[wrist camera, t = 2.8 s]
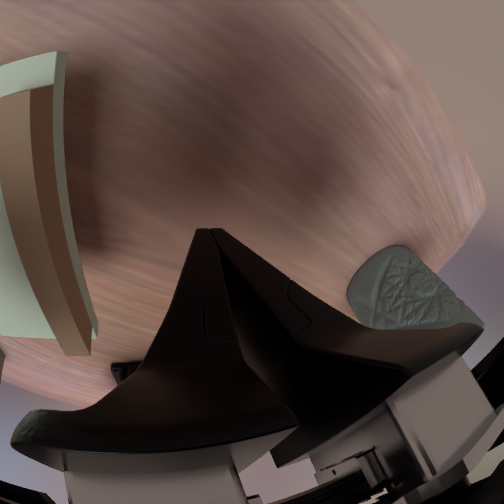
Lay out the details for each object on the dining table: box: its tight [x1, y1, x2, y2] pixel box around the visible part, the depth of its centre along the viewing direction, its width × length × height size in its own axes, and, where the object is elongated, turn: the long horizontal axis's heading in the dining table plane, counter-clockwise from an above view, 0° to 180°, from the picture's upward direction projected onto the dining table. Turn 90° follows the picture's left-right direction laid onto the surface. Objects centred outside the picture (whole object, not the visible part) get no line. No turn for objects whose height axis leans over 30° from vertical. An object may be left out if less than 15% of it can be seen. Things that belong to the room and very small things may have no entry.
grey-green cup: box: [347, 245, 486, 330], centre depth 22 cm, size 10×10×12 cm
